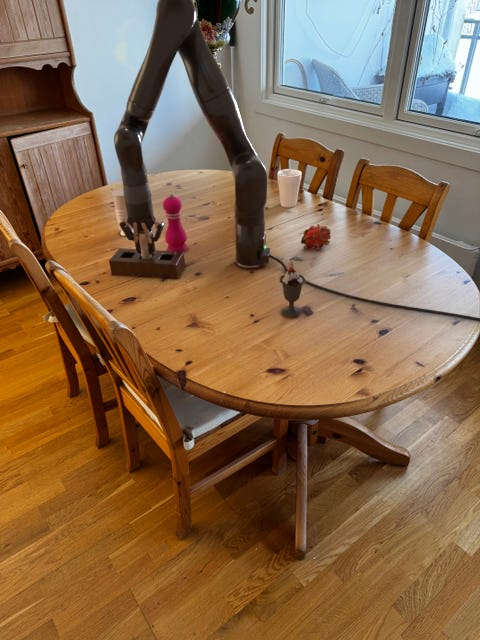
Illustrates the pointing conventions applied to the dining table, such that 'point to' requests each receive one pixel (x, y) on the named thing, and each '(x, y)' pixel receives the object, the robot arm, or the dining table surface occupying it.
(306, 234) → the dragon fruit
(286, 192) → the foam cup
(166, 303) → the dining table surface
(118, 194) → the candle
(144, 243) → the peg
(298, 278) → the sundae
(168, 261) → the dark brown hollow block
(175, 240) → the pepper mill
